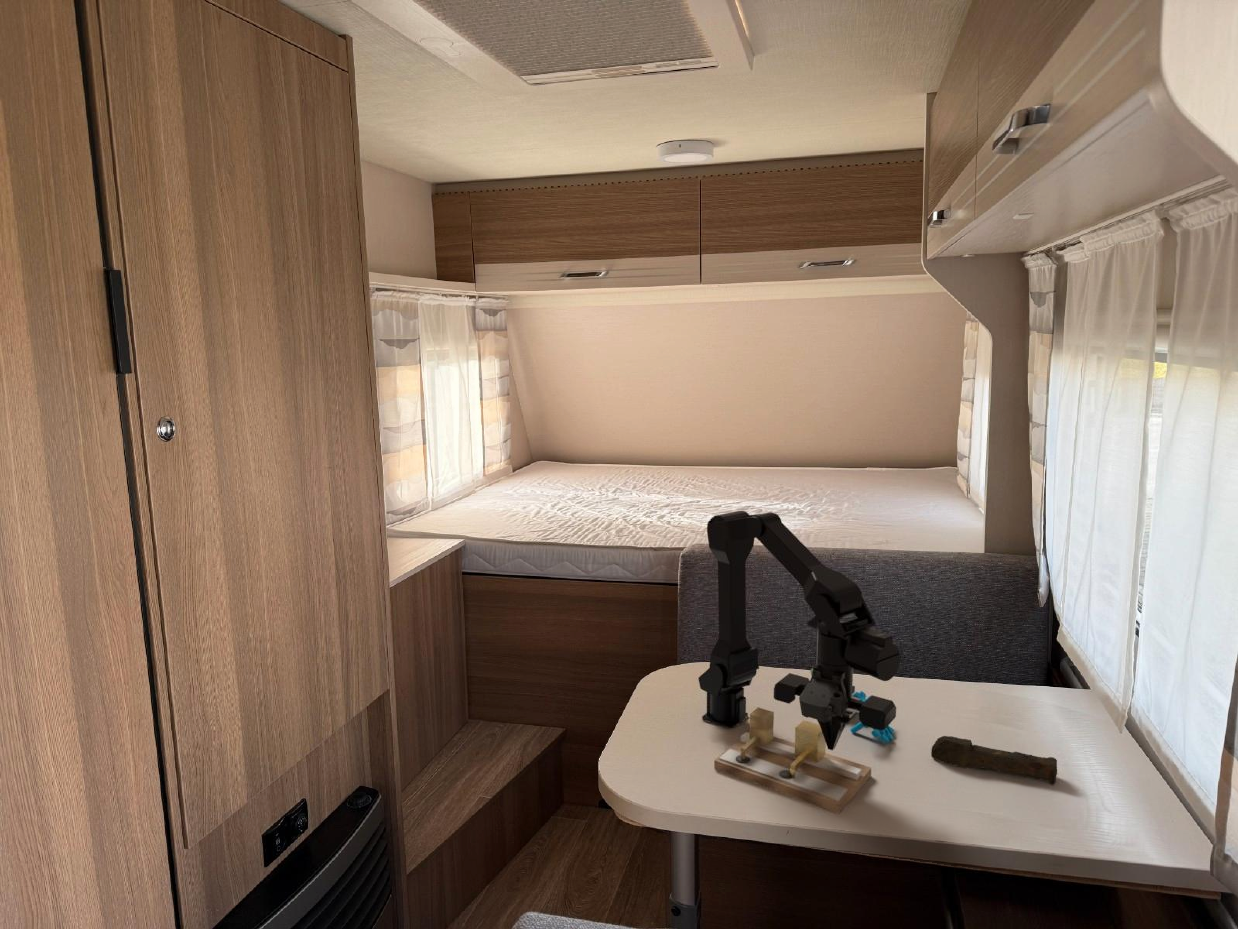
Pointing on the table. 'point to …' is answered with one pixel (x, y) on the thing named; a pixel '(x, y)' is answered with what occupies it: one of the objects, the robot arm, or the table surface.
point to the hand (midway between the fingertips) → (831, 749)
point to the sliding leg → (808, 744)
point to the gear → (885, 734)
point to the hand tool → (993, 759)
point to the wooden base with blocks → (771, 761)
